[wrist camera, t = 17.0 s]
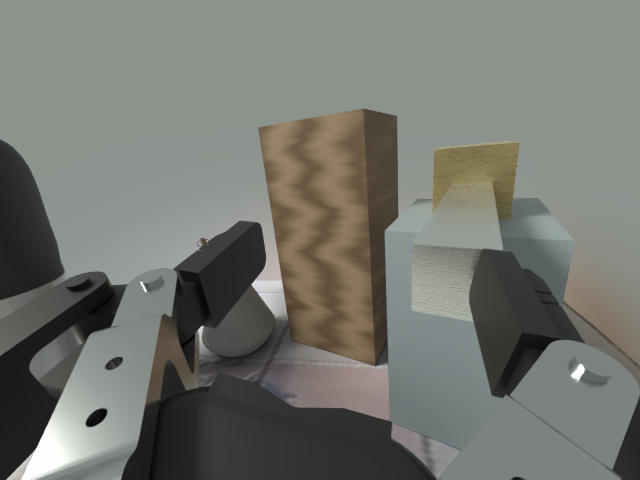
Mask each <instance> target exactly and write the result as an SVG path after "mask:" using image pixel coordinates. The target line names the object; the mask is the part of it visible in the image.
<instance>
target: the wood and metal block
mask: <svg viewBox="0 0 640 480" xmlns="http://www.w3.org/2000/svg"><path fill="white" fill-rule="evenodd" d="M518 150H519V142H515V141H504V142H493V143H483V144H472V145H460V146H450V147H442V148H439V149H435V150H434V174H433V211H432V215H431V216H430V218H429V219H428V221H427V222H426V224H425V225H424V227H423V228H422V230H421V231H420V233H419V234H418V236H417V237H416V239H415V240H414V242H413V243H412V311H417V312H422V313H428V314H433V315H438V316H443V317H449V318H454V319H459V320H464V321H470V322H474V321H473V317H472V313H471V309H470V305H469V291H470V286H471V283H472V279H473V276H474V273H475V270H476V267H477V263H478V260H479V257H480V254H481V252H482V250H483V249H485V248H486V249H495V250H503V246H502V239H501V233H500V227H499V221H498V219H511V210H512V202H513V193H514V185H515V175H516V167H517V159H518Z"/></svg>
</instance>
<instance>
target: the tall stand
mask: <svg viewBox="0 0 640 480" xmlns="http://www.w3.org/2000/svg"><path fill="white" fill-rule="evenodd" d="M258 129H259V136H260V142H261V149H262V155H263V162H264V168H265V174H266V181H267V186H268V193H269V200H270V206H271V213H272V219H273V225H274V232H275V238H276V244H277V251H278V257H279V263H280V269H281V276H282V283H283V289H284V295H285V302H286V308H287V315H288V321H289V327H290V334H291V340H293V341H296V342H299V343H302V344H306V345H309V346H312V347H315V348H319V349H322V350H325V351H328V352H332V353H335V354H338V355H341V356H345V357H348V358H351V359H354V360H358V361H361V362H364V363H368V364H371V365H374V366H375V365H376V363H377V361H378V359H379V357H380V355H381V353H382V351H383V348H384V346H385V344H386V342H387V340H388V332H387V297H386V261H385V230H386V229H387V228H388V227H389V226H390V225H391V224H392V223H393V222H394V221H395V220H396V219H397V218H398V166H397V165H398V159H397V116H394V115H389V114H385V113H381V112H376V111H372V110H367V109H359V110H353V111H347V112H343V113H336V114H331V115H325V116H320V117H314V118H309V119H304V120H297V121H292V122H287V123H281V124H275V125H270V126H264V127H259V128H258Z"/></svg>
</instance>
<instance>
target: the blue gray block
mask: <svg viewBox="0 0 640 480" xmlns="http://www.w3.org/2000/svg"><path fill="white" fill-rule="evenodd" d="M432 211H433V199H417V200H416V201H415V202H414V203H413V204H412V205H411V206H410V207H409V208H408V209H407V210H406V211H405V212H404V213H403V214H402V215H401V216H400V217H398V218H397V219H396V220H395V221H394V222H393V223H392V224H391V225H390V226H389V227H388V228H387V229H386V230H385V261H386V297H387V332H388V367H389V402H390V422H392V423H395V424H397V425H400V426H402V427H405V428H407V429H410V430H412V431H415V432H417V433H420V434H422V435H425V436H427V437H430V438H432V439H435V440H437V441H440V442H442V443H445V444H447V445H450V446H452V447H455V448H457V449H460V450H462V449H463V448H464V447H465V446H466V444H467V443H468V442H469V441H470V439H471V438H472V437H473V435H474V434H475V433H476V432H477V430H478V429H479V428H480V427H481V425H482V424H483V423H484V421H485V420H486V419H487V418H488V416H489V415H490V414H491V413H492V411H493V410H494V409H495V407H496V406H497V405H498V404H499V402H500V401H501V400H502V399H503V398H499V397H495V396H492V395H491V390H490V386H489V382H488V378H487V374H486V370H485V366H484V362H483V358H482V354H481V350H480V346H479V342H478V338H477V333H476V329H475V325H474V322H470V321H464V320H459V319H454V318H449V317H443V316H438V315H433V314H428V313H422V312H417V311H412V243H413V242H414V240H415V239H416V237H417V236H418V234H419V233H420V231H421V230H422V228H423V227H424V225H425V224H426V222H427V221H428V219H429V218H430V216H431V215H432ZM498 221H499V227H500V233H501V239H502V246H503V250H504V251H511V252H513V254H514V256H515V257H516V259H517V261H518V263H519V264H520V266H521V268H524V269H530V270H531V271H533V272H534V273H535V274H536V275H538V276H539V277H540V278H542V279H543V280H544V281H545V282H546V284H547V285H548V287H549V289H550V290H551V292H552V295H553V296H555V298H556V299H557V301H558V302H559V306H561V307H562V303H563V297H564V292H565V287H566V282H567V277H568V272H569V267H570V262H571V256H572V251H573V246H574V239H573V238H572V237H571V236H570V235H569V234H568V232H567V231H566V230H565V229H564V228H563V227H562V225H561V224H560V223H559V222H558V221H557V220H556V219H555V217H554V216H553V215H552V214H551V213H550V211H549V210H548V209H547V208H546V207H545V206H544V205H543V203H542V202H541V201H540V200H539V199H538V198H514V199H513V202H512V210H511V219H498Z"/></svg>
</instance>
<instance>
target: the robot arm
mask: <svg viewBox="0 0 640 480" xmlns="http://www.w3.org/2000/svg"><path fill="white" fill-rule="evenodd" d="M265 262H266V253H265V246H264V240H263V233H262V228H261V225H260V224H259V223H257V222H249V221H239V222H238V223H236V224H235V225H234V226H233V227H231V228H230V229H229V230H227V231H226V232H224V233H222V234H219V235H217V236H215V237H214V238H213V239H211V240H210V241H209V242H208V243H207V244H206V245H204V246H202V247H201V248H200V249H199V251H196V252H195V253H193V254H192V255H191V256H189V257H188V258H187V259H186V260H184V261H183V262H182V263H181V264H179V265H178V266H177V267H175V268H174V269H173V270H172V269H168V268H162V269H155V270H151V271H148V272H145V273H143V274H141V275H139V276H137V277H136V278H134V279H133V280H132V281H131V282H130V283H129V284H126V285H111V283H110V281H109V279H108V277H107V276H106V274H105V273H103V272H88V273H83V274H80V275H77V276H74V277H72V278H69V279H68V277H67V275H66V272H65V270H64V268H63V265H62V263H61V260H60V256H59V250H58V245H57V242H56V239H55V236H54V233H53V231H52V228H51V226H50V223H49V220H48V217H47V214H46V211H45V208H44V205H43V202H42V199H41V196H40V192H39V190H38V187H37V184H36V182H35V179H34V177H33V175H32V173H31V171H30V169H29V167H28V165H27V164H26V162H25V161H24V159H23V158H22V157H21V155H20V154H19V153H18V152H17V151H16V150H15V149H14V148H13V147H12V146H10V145H9V144H8V143H6V142H4V141H2V140H0V480H6V479H7V478H8V477H9V476H10V475H11V474H12V473H13V472H14V471H15V470H16V469H17V468H18V467H19V466H20V465H21V464H22V463H23V462H24V461H25V460H26V459H27V458H28V457H29V456H30V455H31V454H32V453H33V452H34V450H35V449H36V448H37V449H36V451H35V453H34V455H33V457H32V460H31V462H30V464H29V466H28V468H27V470H26V473H25V475H24V477H23V479H22V480H437V479H436V478H435V476H434V475H433V474H432V473H431V472H430V471H429V470H428V468H427V467H426V466H425V465H424V464H423V463H422V462H421V461H420V460H419V459H418V458H417V457H416V456H415V455H414V454H413V453H411V452H410V451H409V450H408V449H406V448H405V447H404V446H402V445H401V444H400V443H398V442H396V441H395V440H393V439H391V429H392V422H390V421H386V420H383V419H379V418H376V417H372V416H369V415H365V414H362V413H358V412H355V411H351V410H348V409H344V408H297V407H293V406H291V405H289V404H287V403H286V402H284V401H283V400H281V399H280V398H278V397H277V396H275V395H274V394H272V393H271V392H269V391H267V390H266V389H264V388H263V387H261V386H260V385H258V384H257V383H253V382H250V381H246V380H243V379H239V378H236V377H232V376H229V375H225V374H222V373H219V375H218V376H217V378H216V379H215V381H214V382H213V384H212V385H211V386H206V387H199V334H198V331H197V330H198V329H199V328H200V327H201V326H206V327H210V328H214V329H216V327H217V326H218V325H219V324H220V323H221V321H222V320H223V319H224V318H225V316H226V315H227V314H228V313H229V311H230V310H231V309H232V308H233V306H234V305H235V304H236V303H237V301H238V300H239V299H240V298H241V296H242V295H243V294H244V293H245V292H246V290H247V289H248V288H249V287H250V285H251V284H252V283H253V282H254V280H255V279H256V278H257V276H258V275H259V274H260V273H261V272H262V270H263V269H264V266H265ZM469 305H470V309H471V313H472V317H473V321H474V325H475V329H476V333H477V338H478V342H479V346H480V350H481V354H482V358H483V362H484V366H485V370H486V374H487V378H488V382H489V386H490V390H491V395H492V396H495V397H499V398H503V399H502V400H501V401H500V402H499V404H498V405H497V406H496V407H495V409H494V410H493V411H492V413H491V414H490V415H489V416H488V418H487V419H486V420H485V421H484V423H483V424H482V425H481V427H480V428H479V429H478V430H477V432H476V433H475V434H474V435H473V437H472V438H471V439H470V441H469V442H468V443H467V444H466V446H465V447H464V448H463V449H462V451H461V452H460V453H459V455H458V456H457V457H456V458H455V460H454V461H453V462H452V463H451V465H450V466H449V467H448V468H447V470H446V471H445V472H444V474H443V475H442V476H441V477H440V479H439V480H640V387H639V385H638V383H637V381H636V379H635V378H634V376H633V375H632V374H631V373H630V372H629V371H628V370H627V369H626V368H625V367H624V366H623V365H622V364H621V363H619V362H618V361H617V360H615V359H614V358H612V357H611V356H609V355H608V354H606V353H604V352H602V351H601V350H599V349H596V348H594V347H592V346H589V345H587V344H585V342H584V341H583V339H582V338H581V336H580V335H579V333H578V331H577V330H576V328H575V327H574V325H573V324H572V322H571V321H570V319H569V318H568V316H567V315H566V313H565V312H564V310H563V308H562V307H561V306H559V302H558V301H557V299H556V298H555V296H553V295H552V292H551V290H550V289H549V287H548V285H547V284H546V282H545V281H544V280H543V279H542V278H540V277H539V276H538V275H536V274H535V273H534V272H533V271H531V270H530V269H524V268H521V266H520V264H519V263H518V261H517V259H516V257H515V256H514V254H513V252H511V251H504V250H495V249H486V248H485V249H483V250H482V252H481V254H480V257H479V260H478V263H477V267H476V270H475V273H474V276H473V279H472V283H471V286H470V291H469Z"/></svg>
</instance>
